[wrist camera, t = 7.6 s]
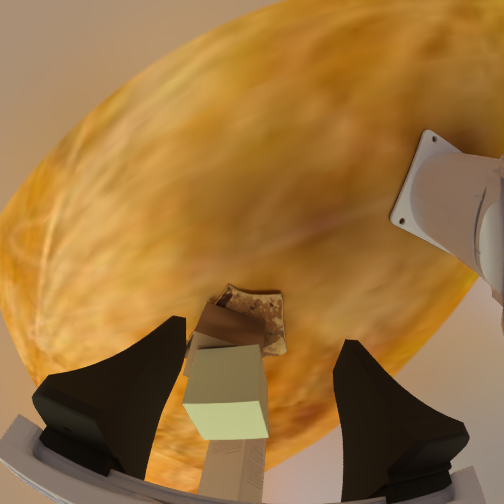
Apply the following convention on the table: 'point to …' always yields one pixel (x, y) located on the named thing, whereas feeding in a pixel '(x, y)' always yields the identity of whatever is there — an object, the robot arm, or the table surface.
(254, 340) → the walnut block
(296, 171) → the table surface
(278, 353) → the shard
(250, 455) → the skincare box
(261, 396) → the sage block
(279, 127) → the table surface
